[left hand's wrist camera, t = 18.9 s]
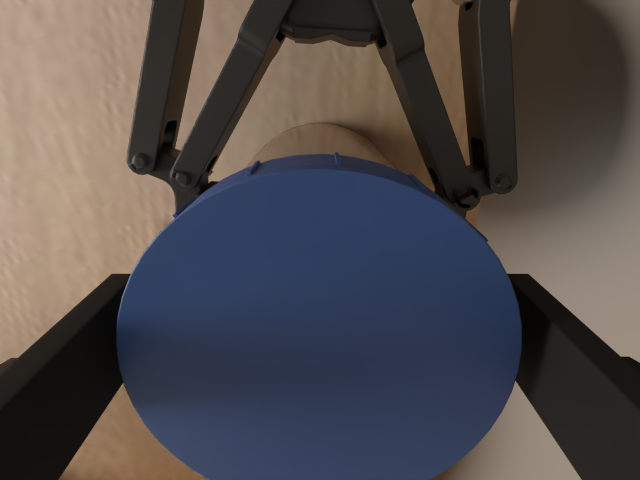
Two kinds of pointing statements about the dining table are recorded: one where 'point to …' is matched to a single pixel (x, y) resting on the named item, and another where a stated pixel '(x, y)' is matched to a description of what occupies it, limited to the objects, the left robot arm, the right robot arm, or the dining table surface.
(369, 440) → the lid
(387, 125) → the dining table surface
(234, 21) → the dining table surface
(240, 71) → the right robot arm
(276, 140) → the jar
